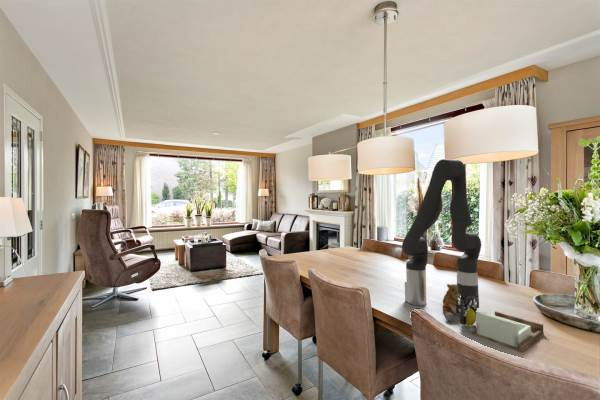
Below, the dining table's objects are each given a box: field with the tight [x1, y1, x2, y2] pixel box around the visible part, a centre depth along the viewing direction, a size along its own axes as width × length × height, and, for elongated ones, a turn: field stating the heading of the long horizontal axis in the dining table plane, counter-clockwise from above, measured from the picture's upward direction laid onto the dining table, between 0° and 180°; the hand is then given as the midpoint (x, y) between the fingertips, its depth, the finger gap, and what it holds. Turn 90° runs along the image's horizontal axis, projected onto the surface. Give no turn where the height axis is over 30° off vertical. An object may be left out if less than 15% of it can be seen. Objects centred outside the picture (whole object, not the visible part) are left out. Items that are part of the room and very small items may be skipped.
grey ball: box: [444, 313, 455, 322], centre depth 120 cm, size 4×4×4 cm
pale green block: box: [475, 311, 531, 348], centre depth 105 cm, size 13×13×8 cm
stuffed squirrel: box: [442, 283, 461, 315], centre depth 130 cm, size 10×14×13 cm
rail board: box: [471, 311, 545, 353], centre depth 107 cm, size 16×21×4 cm
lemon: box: [464, 308, 476, 327], centre depth 114 cm, size 6×6×8 cm
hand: (468, 321), depth 114 cm, fingers open, 8 cm apart
